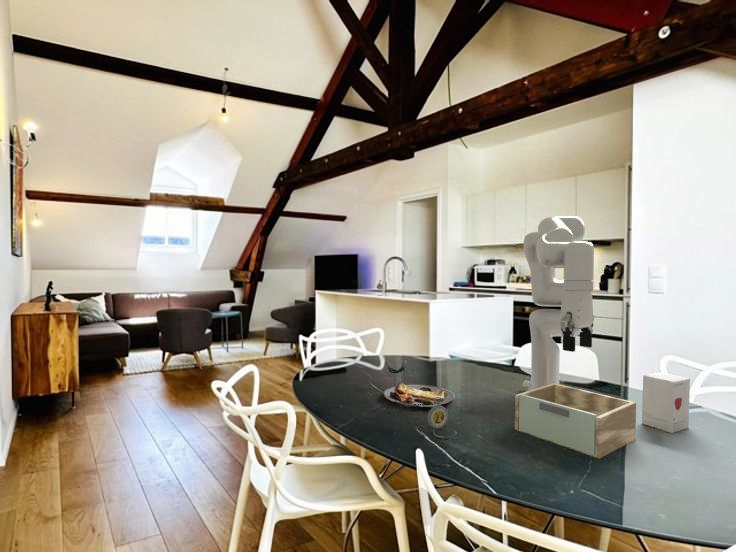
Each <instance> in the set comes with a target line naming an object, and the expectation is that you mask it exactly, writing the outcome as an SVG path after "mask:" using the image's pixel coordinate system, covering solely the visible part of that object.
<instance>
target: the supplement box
mask: <svg viewBox="0 0 736 552" xmlns="http://www.w3.org/2000/svg"><path fill="white" fill-rule="evenodd" d="M642 376H643V377H642V398H641V399H642V402H641V403H642V404H641V411H642V412H641V424H642V425H645V426H649V427H651V428H654V427H655V429H657V430H661V431H663V432H667V433H670V434H673V433H676V432H681V431H683V430H687V429H689V425H690V424H689V419H690V387H691V386H690V385H691V378H690V377H689V378H688V377H685V376H681V375H680V376H679V375H675V374H671V373H667V372H661V371H659V372H654V373H653V372H652V373H649V374H645V375H642Z"/></svg>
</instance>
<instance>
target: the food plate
mask: <svg viewBox="0 0 736 552" xmlns="http://www.w3.org/2000/svg"><path fill="white" fill-rule="evenodd" d="M382 393H383V397H384V399H386V400H389V401H390V402H395V403H397V404H400V405H402V406H403V407H406V408H407V407H414V408H417V407H420V408H423V407H424V408H433V407H434V406H437V403H435V402H437V400H440V401H441V399H442V401H441V402H440V403H439V405H440V406H441V405H444V404H448V403H450V402H451V401H453V400H454V399H455V398H456V395H455V393H454V392H453V391H451V390H449V389H446V388H443V387H440V386H436V385H427V384H404V383H403V382H398V384H397V386H391V387H389V388H386V389H385V390H384V391H383V392H382ZM436 397H440V398H441V399H440V398H436ZM435 398H436V399H435ZM434 399H435V402H434ZM424 403H425V404H426V405H425V404H424ZM414 404H416V405H414ZM418 404H419V405H418ZM420 404H421V405H420ZM432 404H433V405H432Z"/></svg>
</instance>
